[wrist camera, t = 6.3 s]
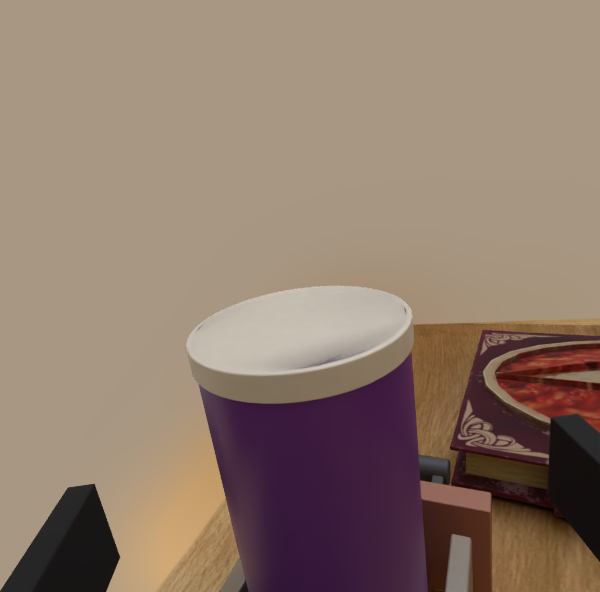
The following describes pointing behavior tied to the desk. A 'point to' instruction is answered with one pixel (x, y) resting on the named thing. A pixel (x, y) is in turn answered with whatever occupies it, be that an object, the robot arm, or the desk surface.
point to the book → (522, 410)
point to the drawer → (441, 534)
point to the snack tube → (316, 438)
